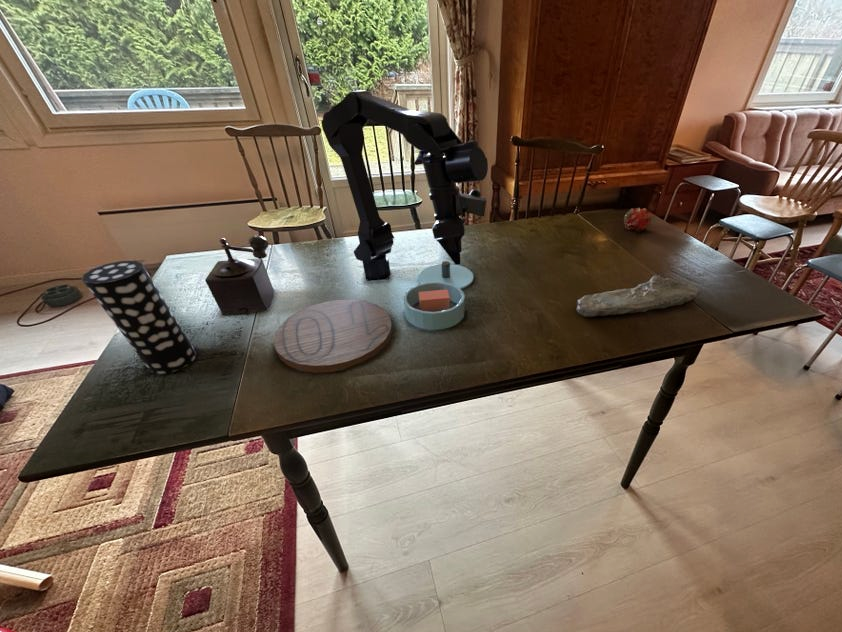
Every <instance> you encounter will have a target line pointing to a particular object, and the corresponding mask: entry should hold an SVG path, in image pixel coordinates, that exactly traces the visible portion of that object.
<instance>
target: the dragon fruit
mask: <svg viewBox="0 0 842 632" xmlns="http://www.w3.org/2000/svg"><path fill="white" fill-rule="evenodd" d="M651 217H652V213H651V212H650V211H648V208H646V207H644V208H642V209H641V208H640V207H637V208H631V209H629V210H628V211H627V212H626V213H625V214H624V216H623V221H622V224H623V225H624V227H625V228H626V229H628V230H629V231H633V230H635V229H638V230H635V231H636V232H640V231H644V230H646V228H647V227H648V226H649V225H650V224H651V221H652V218H651ZM630 227H631V228H634V229H631V228H630ZM640 229H641V230H640ZM639 230H640V231H639Z"/></svg>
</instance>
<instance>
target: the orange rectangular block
mask: <svg viewBox="0 0 842 632" xmlns="http://www.w3.org/2000/svg"><path fill="white" fill-rule="evenodd" d="M419 301H420V302H419V310H421V311H428V312H437V311H444V310H447V309H451V301H450V296H449V293H448V290H436V291H423V292H419Z"/></svg>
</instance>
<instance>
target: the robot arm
mask: <svg viewBox="0 0 842 632" xmlns="http://www.w3.org/2000/svg"><path fill="white" fill-rule="evenodd" d="M369 121H372V122H374V123H377V124H379V125H381V126H383V127H386V128H388V129H391V130H392V131H394V132H398V133H399V134H400V135H401V136H403V138H404V139H405V141H406V142H407V143H408V144H410V145H411V146H412V147H414V148H415V149H417V150H419V151H418V155H417V157H415V159H414V161H413V162H414V165H415V166H419V165H423V169H424V173H425V178H426V181H427V185H428V190H429V195H428V196H429V200H430V201H431V203H432V207H433V211H434V215H433V216H434V220H435V222H434V224H433V226H432V229H431V231H432V234H433V238H434V240H436V242H438V244H439V245H440V246H441V248H442V249H443V250H444V251H445V253H446V254H447V256H449V258H450V259H451V261H452V262H453V263H454V265H459V266H460V265H461V253H462V238H463V237H464V236H465V234H466V233H465V232H466V231H465V222H466V220H467V219H466V217H467V214H472V215H477V217H485V213H486V206H487V197H485V196H481V192H480V190H478V189H474V188H473V189H471V191H470V193H469V194H468V193H461V192H460V187H458V185H457V184H463V183H464V184H465V183H472V182H480V181H483V180H484V179H485V178H486V177H487V174H488V171H489V163H488V162H489V161H488V157H486V154H485V152H484V150H483V149H482V148H480V147H479V141H478V140H477V139H475V140H470V141H466V142H463V141H462V140H461V139H460V137H459V136H458V135H457V134H456V132H455V131H454V130H453V129H452V128H451V126H450V124H449V122H448V118H447V117H446V116H445V115H444V114H443V113H440V112H433V111H427V110H426V111H425V110H423V111H422V110H411V109H410V108H407V107H404V106H402V105H399V104H397V103H394V102H392V101H390V100H387V99H384V98H382V97H380V96H377V95H375V94H372V93H371V92H370V91H368V90H365V89H363V90H362V89H361V90H351V91H349V92H348V93H347V94H346V95H345V96H344V97H343V99H342V100H340V101H339V102H338V103H336V104H335V105H334V106H333V107H331V108H330V109H329V110H328V111H326V112H324V114H323V116H322V120H321V123H320V124H321V129H322V131H323V133H324V136H325V139H326V140H327V144H328V146H329V147H330V148H331V149H332V150H333V152H334V153H336V155H337V156H338V157H339V158H340V161H341V165H342V167H343V170H344V174H345V176H346V181H347V183H348V186H349V189H350V190H349V191H350V194H351V196H352V200H353V202H354V206H355V209H356V212H357V215H358V219H359V223H358V230H357V237H358V242H359V244H358V245H357V247H356V248H355V249H354V250H353V254H354V257H355V259H356V260H357V261H360V262H362V266H363V271H364V276H365V277H364V281H365V282H372V281H373V282H374V281H385V280H389V279H390V276H391V266H390V265H391V264H390V259H389V258H388V257H387V255H388V254H390V253H392V248H393V246H394V239H395V236H394V234H393V231H392V226H391V224H390V223H389V222H385V221H384V220H383V219H382V217H380V213H379V210H378V206H377V203H376V200H375V196H374V195H375V194H374V192H373V188H372V185H371V181H370V178H369V175H368V169H367V167H366V163H365V159H364V155H363V150H364V145H365V134H364V128H365V127H366V126H367V124H369Z"/></svg>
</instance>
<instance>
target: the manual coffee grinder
mask: <svg viewBox="0 0 842 632" xmlns="http://www.w3.org/2000/svg"><path fill="white" fill-rule="evenodd" d="M219 242H220V243H221V248H222V249H223V250H224V252H225V255H226V257H227V260H218V261H217V262H216V263H215V265H214V266H213V267H212V269H211V270H210V272H209V273H208V274H207V276H206V277H205V279H204V281H205V283H206V286H207V287H208V289H209V291H210V293H211V295H212V297H213V299H214V301H215V303H216V305H217V307H218V308H219V310H220V312H221V315H222V316H228V315H231V316H232V315H243V314H244V315H245V314H249V313H257V312H263V311H268V309H269V308H270V306H271V305H272V301H273V299H274V294H275V293H274V292H275V289H274V286H273V284H272V281H271V280H270V276H269V274H268V270H267V268H266V265H265V263H264V260H263V259H265V258H267V257H268V254H267V253H266V250H267V249H268V247H269V242H268V239H267V238H266V237H264V236H262V235H253V236H251V237H250V238H249V239H248V242H247V243H248V245H249V247H243V246H234V245H230V244H229V243H227V242H228V241H227V239H226V238H224V237H220V239H219ZM230 250H231V251H236V252H246V253H252V256H253V257H254V258H245V259H243V258H234V257H233V256H232V253H231V251H230Z"/></svg>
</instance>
